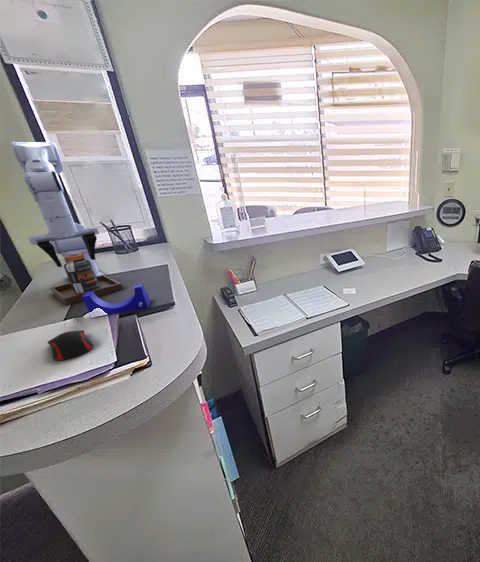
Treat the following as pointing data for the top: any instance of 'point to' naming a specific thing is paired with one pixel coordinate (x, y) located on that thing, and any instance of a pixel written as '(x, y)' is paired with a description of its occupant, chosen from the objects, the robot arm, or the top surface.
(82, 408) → the top surface
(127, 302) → the blue curved cradle
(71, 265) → the pill bottle
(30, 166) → the robot arm
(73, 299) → the desk tray
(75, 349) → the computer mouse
